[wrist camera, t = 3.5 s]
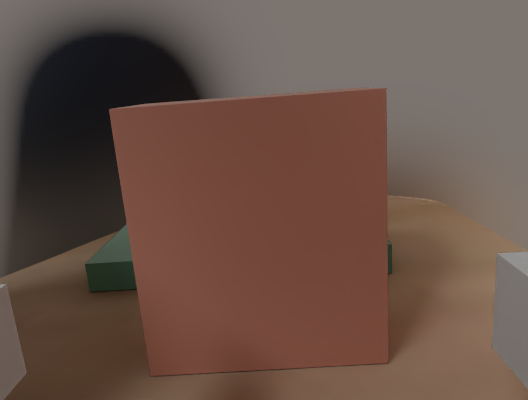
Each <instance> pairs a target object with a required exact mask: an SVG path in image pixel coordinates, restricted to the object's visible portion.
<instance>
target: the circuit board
mask: <svg viewBox="0 0 528 400" xmlns="http://www.w3.org/2000/svg"><path fill="white" fill-rule="evenodd" d="M85 267H86V272H87V278H88V283H89V288H90V292H96V291H112V290H129V289H137V286H136V279H135V273H134V267H133V260H132V254H131V247H130V241H129V234H128V228H127V224H126V225H125V226H124V227H123V228H122V229H121V230H120V231H119V232H118V233H117V234H116V235H115V236H114V237H113V238H112V239H111V240H110V241H108V242H107V243H106V244H105V245H104V246H103V247H102V248H101V249H100V250H99V251H98V252H97V253H96V254H95V255H94V256H93V257H92V258H91V259H90V260H89V261H88V262H87V263H85ZM388 273H392V244H391V243H390V242H389V240H388Z"/></svg>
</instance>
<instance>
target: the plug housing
mask: <svg viewBox="0 0 528 400" xmlns="http://www.w3.org/2000/svg"><path fill="white" fill-rule="evenodd" d="M109 112H110V118H111V125H112V131H113V138H114V144H115V151H116V157H117V163H118V170H119V176H120V182H121V189H122V196H123V202H124V209H125V215H126V221H127V228H128V234H129V241H130V247H131V254H132V260H133V267H134V273H135V279H136V286H137V292H138V299H139V305H140V312H141V318H142V325H143V331H144V337H145V344H146V350H147V357H148V363H149V370H150V376H163V375H182V374H200V373H218V372H236V371H254V370H272V369H290V368H308V367H326V366H344V365H362V364H380V363H389V360H388V234H387V109H386V88H349V89H338V90H337V89H336V90H324V91H310V92H297V93H284V94H271V95H258V96H244V97H231V98H218V99H205V100H193V101H192V100H191V101H178V102H166V103H152V104H142V105H135V106H128V107H121V108H114V109H109Z"/></svg>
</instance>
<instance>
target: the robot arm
mask: <svg viewBox="0 0 528 400" xmlns="http://www.w3.org/2000/svg"><path fill="white" fill-rule="evenodd" d="M492 348H493V349H494V350H495V351H496V352H497V354H498V355H499V356H500V357H501V358H502V360H503V361H504V362H505V363H506V364H507V366H508V367H509V368H510V369H511V370H512V371H513V373H514V374H515V375H516V376H517V377H518V379H519V380H520V381H521V382H522V383H523V385H524V386H525V387H526V388H527V389H528V252H511V253H497V263H496V282H495V300H494V318H493V337H492ZM26 373H27V371H26V366H25V362H24V358H23V353H22V349H21V345H20V341H19V336H18V332H17V328H16V323H15V319H14V315H13V310H12V306H11V302H10V297H9V293H8V289H7V284H1V285H0V400H4V399H5V398H6V397H7V396H8V394H9V393H10V392H11V391H12V390H13V389H14V387H15V386H16V385H17V384H18V383H19V382H20V380H21V379H22V378H23V377H24V376H25V375H26Z"/></svg>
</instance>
